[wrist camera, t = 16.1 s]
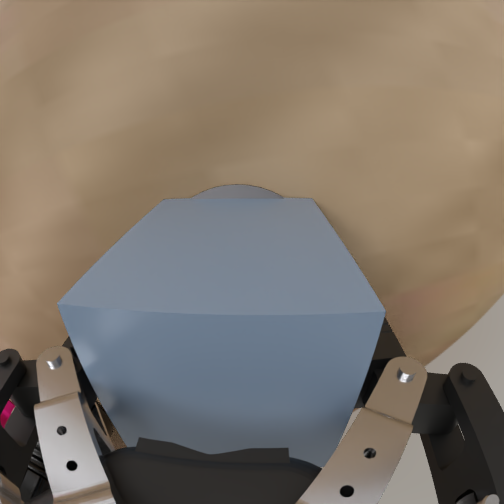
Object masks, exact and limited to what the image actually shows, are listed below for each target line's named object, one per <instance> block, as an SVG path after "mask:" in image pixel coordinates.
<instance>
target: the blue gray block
mask: <svg viewBox="0 0 504 504" xmlns="http://www.w3.org/2000/svg"><path fill="white" fill-rule="evenodd" d="M57 305H58V308H59V311H60V314H61V316H62V319H63V322H64V324H65V327H66V329H67V332H68V334H69V337H70V339H71V342H72V344H73V346H74V349H75V351H76V353H77V356H78V358H79V360H80V362H81V364H82V367H83V369H84V371H85V373H86V375H87V377H88V379H89V381H90V383H91V385H92V387H93V389H94V391H95V393H96V395H97V397H98V398H99V400H100V402H101V404H102V406H103V408H104V409H105V411H106V413H107V415H108V416H109V418H110V420H111V422H112V423H113V425H114V427H115V428H116V430H117V431H118V433H119V435H120V436H121V438H122V439H123V441H124V443H125V444H126V446H127V447H134V446H136V445H137V442H138V438H139V437H141V438H147V439H153V440H159V441H166V442H173V443H176V444H179V445H181V446H184V447H187V448H190V449H193V450H196V451H199V452H203V453H206V454H219V453H225V452H231V451H237V450H243V449H248V448H289V457H292V458H297V459H301V460H304V461H307V462H310V463H312V464H314V465H316V466H318V467H324V466H325V465H326V463H327V462H328V460H329V459H330V458H331V456H332V455H333V453H334V452H335V450H336V448H337V446H338V444H339V442H340V439H341V437H342V435H343V433H344V430H345V428H346V426H347V423H348V421H349V419H350V416H351V414H352V411H353V409H354V406H355V404H356V401H357V399H358V396H359V394H360V391H361V388H362V386H363V383H364V380H365V377H366V374H367V372H368V369H369V366H370V363H371V360H372V357H373V354H374V350H375V347H376V344H377V341H378V338H379V334H380V331H381V327H382V324H383V320H384V317H385V313H386V310H385V309H384V307H383V305H382V304H381V302H380V300H379V299H378V297H377V296H376V294H375V292H374V291H373V289H372V287H371V286H370V284H369V283H368V281H367V279H366V278H365V276H364V275H363V273H362V271H361V270H360V268H359V267H358V265H357V264H356V262H355V261H354V259H353V257H352V256H351V254H350V253H349V251H348V250H347V248H346V247H345V245H344V244H343V242H342V241H341V239H340V238H339V236H338V235H337V233H336V232H335V230H334V229H333V228H332V226H331V225H330V223H329V222H328V220H327V219H326V217H325V216H324V215H323V213H322V212H321V210H320V209H319V207H318V206H317V205H316V203H315V202H314V200H313V199H312V198H284V199H191V198H184V199H164V200H162V201H161V202H160V203H159V204H158V205H157V206H156V207H154V208H153V209H152V210H151V211H150V212H149V213H148V214H147V215H145V216H144V217H143V218H142V219H141V220H140V221H139V222H138V223H137V224H136V225H134V226H133V227H132V228H131V229H130V230H129V231H128V232H127V233H126V234H125V235H124V236H123V237H122V238H120V239H119V240H118V241H117V242H116V243H115V244H114V245H113V246H112V247H111V248H110V249H109V250H108V251H107V252H106V253H105V254H104V255H103V256H102V257H101V258H100V259H99V260H98V261H97V262H96V263H95V264H94V265H93V266H92V267H91V268H90V269H89V270H88V271H87V272H86V273H85V274H84V275H83V276H82V277H81V278H80V279H79V280H78V281H77V282H76V284H75V285H74V286H73V287H72V288H71V289H70V290H69V291H68V292H67V293H66V294H65V295H64V296H63V298H62V299H61V300H60V301H59V302H58V303H57Z"/></svg>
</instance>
